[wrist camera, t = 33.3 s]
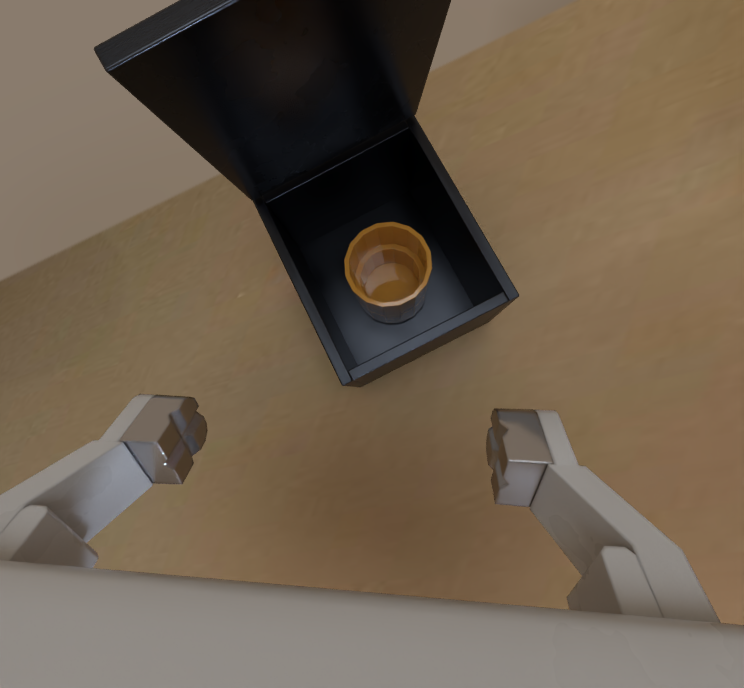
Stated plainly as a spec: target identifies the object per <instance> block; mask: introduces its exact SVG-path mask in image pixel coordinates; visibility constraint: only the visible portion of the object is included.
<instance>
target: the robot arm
mask: <svg viewBox="0 0 744 688" xmlns="http://www.w3.org/2000/svg"><path fill="white" fill-rule="evenodd" d="M198 407H199V405H198V403H197V402H196V400H195V398H193V397H184V396H169V395H150V394H139V395H137V396H135V397H134V398H133V399H132V400H131V401H130V402H129V404H128V405H127V406H126V407H125V409H124V410H123V411H122V412H121V414H120V415H119V416H118V417H117V419H116V420H115V421H114V422H113V423H112V425H111V426H110V427H109V428H108V430H107V431H106V432H105V433H104V435H103V436H102V437H101V438H100V440H93V441H91V442H90V443H88V444H86V445H85V446H83V447H81V448H79V449H78V450H76V451H74V452H73V453H71V454H69V455H68V456H66V457H64V458H62V459H61V460H59V461H57V462H56V463H54V464H52V465H51V466H49V467H47V468H45V469H44V470H42V471H40V472H39V473H37V474H35V475H34V476H32V477H30V478H28V479H27V480H25V481H23V482H22V483H20V484H18V485H17V486H15V487H13V488H11V489H10V490H8V491H6V492H5V493H3V494H1V495H0V688H744V625H738V624H726V623H721V622H720V620H719V619H718V617H717V615H716V613H715V611H714V609H713V607H712V605H711V603H710V601H709V600H708V598H707V596H706V594H705V592H704V590H703V588H702V586H701V584H700V583H699V581H698V579H697V577H696V575H695V573H694V571H693V569H692V567H691V565H690V564H689V562H688V560H687V558H686V556H685V554H684V552H683V550H682V549H681V548H680V547H678V546H677V545H676V544H675V543H674V542H673V541H671V540H670V539H669V538H668V537H667V536H666V535H665V534H663V533H662V532H661V531H660V530H659V529H658V528H656V527H655V526H654V525H653V524H652V523H651V522H650V521H648V520H647V519H646V518H645V517H644V516H643V515H641V514H640V513H639V512H638V511H637V510H636V509H634V508H633V507H632V506H631V505H630V504H629V503H628V502H626V501H625V500H624V499H623V498H622V497H621V496H619V495H618V494H617V493H616V492H615V491H614V490H613V489H611V488H610V487H609V486H608V485H607V484H606V483H604V482H603V481H602V480H601V479H600V478H599V477H598V476H596V475H595V474H594V473H593V472H592V471H591V470H589V469H588V468H587V467H586V466H579V464H578V462H577V459H576V457H575V454H574V452H573V449H572V447H571V444H570V442H569V439H568V437H567V434H566V432H565V429H564V427H563V424H562V422H561V419H560V416H559V414H558V413H557V412H556V411H555V410H532V409H497V408H494V410H493V411H492V415H491V422H492V427H491V428H489V429H488V433H487V439H486V453H487V461H488V465H489V466H490V467H491V468H492V469H493V473H492V477H491V484H492V489H493V495H494V500H495V504H500V505H512V506H523V507H530V510H531V511H532V512H533V514H534V515H535V516H536V518H537V519H538V520H539V521H540V523H541V524H542V525H543V526H544V528H545V529H546V530H547V532H548V533H549V534H550V535H551V537H552V538H553V539H554V541H555V542H556V543H557V544H558V546H559V547H560V548H561V549H562V551H563V552H564V553H565V555H566V556H567V557H568V558H569V560H570V561H571V562H572V564H573V565H574V566H575V567H576V569H577V570H578V571H579V572H580V574H581V575H582V577H581V579H580V580H579V581H578V583H577V584H576V585H575V587H574V588H573V590H572V591H571V592H570V594H569V595H568V596H567V600H568V604H569V608H570V610H567V609H555V608H544V607H532V606H521V605H510V604H498V603H487V602H475V601H464V600H452V599H441V598H430V597H418V596H407V595H395V594H384V593H373V592H361V591H350V590H338V589H327V588H315V587H304V586H293V585H281V584H270V583H258V582H247V581H235V580H224V579H213V578H201V577H190V576H178V575H167V574H155V573H144V572H132V571H121V570H109V569H98V568H93V566H94V565H95V563H96V561H97V560H98V554H97V552H96V551H95V550H94V549H92V548H91V547H90V546H89V545H88V544H87V542H88V541H89V540H90V539H91V538H93V537H94V536H95V535H96V534H97V533H98V532H100V531H101V530H102V529H103V528H104V527H105V526H106V525H108V524H109V523H110V522H111V521H112V520H113V519H114V518H116V517H117V516H118V515H119V514H120V513H121V512H123V511H124V510H125V509H126V508H127V507H128V506H129V505H131V504H132V503H133V502H134V501H135V500H136V499H137V498H139V497H140V496H141V495H142V494H143V493H144V492H146V491H147V490H148V489H149V488H150V487H151V486H152V485H153V484H152V483H157V484H183V482H184V480H185V479H186V477H187V475H188V473H189V471H190V469H191V467H192V466H193V464H194V462H193V458H192V456H193V455H194V454H196V453H197V452H198V451H200V450H201V449H202V447H203V445H204V443H205V441H206V435H207V423H206V420H205V418H204V417H203V416H202V415H201V414H199V413H198V412H197V411H196V410H197V409H198Z"/></svg>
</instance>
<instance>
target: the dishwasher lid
mask: <svg viewBox="0 0 744 688" xmlns="http://www.w3.org/2000/svg"><path fill="white" fill-rule="evenodd" d="M450 2H451V0H179V1H178V2H176V3H174V4H172V5H170V6H168V7H167V8H165V9H163V10H161V11H159V12H157V13H156V14H154V15H152V16H150V17H148V18H146V19H145V20H143V21H141V22H139V23H137V24H135V25H134V26H132V27H130V28H128V29H126V30H125V31H123V32H121V33H119V34H117V35H115V36H114V37H112V38H110V39H108V40H107V41H105V42H103V43H101V44H99V45H98V46H96V47H94V51H95V53H96V55H97V56H98V58H99V60H100V62H101V64H102V65H103V67H104V69H105V71H106V72H107V73H109V74H110V75H111V76H112V77H113V78H114V79H115V80H117V81H118V82H119V83H120V84H121V85H122V86H123V87H125V88H126V89H127V90H128V91H129V92H130V93H131V94H132V95H133V96H135V97H136V98H137V99H138V100H139V101H140V102H141V103H142V104H144V105H145V106H146V107H147V108H148V109H149V110H150V111H151V112H153V113H154V114H155V115H156V116H157V117H158V118H159V119H161V120H162V121H163V122H164V123H165V124H166V125H167V126H168V127H170V128H171V129H172V130H173V131H174V132H175V133H176V134H177V135H179V136H180V137H181V138H182V139H183V140H184V141H185V142H186V143H188V144H189V145H190V146H191V147H192V148H193V149H194V150H195V151H197V152H198V153H199V154H200V155H201V156H202V157H203V158H204V159H206V160H207V161H208V162H209V163H210V164H211V165H212V166H214V167H215V168H216V169H217V170H218V171H219V172H220V173H221V174H223V175H224V176H225V177H226V178H227V179H228V180H229V181H230V182H232V183H233V184H234V185H235V186H236V187H237V188H238V189H239V190H241V191H242V192H243V193H244V194H245V195H246V196H247V197H248V198H250V199H251V200H255V199H257V198H258V197H260V196H262V195H264V194H266V193H268V192H270V191H272V190H274V189H275V188H277V187H279V186H281V185H283V184H285V183H287V182H289V181H291V180H292V179H294V178H296V177H298V176H300V175H302V174H304V173H306V172H308V171H310V170H311V169H313V168H315V167H317V166H319V165H321V164H323V163H325V162H327V161H328V160H330V159H332V158H334V157H336V156H338V155H340V154H342V153H344V152H345V151H347V150H349V149H351V148H353V147H355V146H357V145H359V144H361V143H362V142H364V141H366V140H368V139H370V138H372V137H374V136H376V135H378V134H380V133H381V132H383V131H385V130H387V129H389V128H391V127H393V126H395V125H397V124H398V123H400V122H402V121H404V120H406V119H408V118H410V117H412V116H414V115H415V114H416V112H417V109H418V106H419V102H420V99H421V96H422V93H423V89H424V86H425V83H426V80H427V77H428V73H429V70H430V67H431V64H432V60H433V57H434V54H435V51H436V47H437V44H438V41H439V38H440V34H441V31H442V28H443V25H444V22H445V18H446V15H447V12H448V9H449V6H450Z"/></svg>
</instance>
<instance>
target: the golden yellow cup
mask: <svg viewBox="0 0 744 688" xmlns="http://www.w3.org/2000/svg"><path fill="white" fill-rule="evenodd" d="M344 264H345V276H346V279H347V281H348V283H349V285H350V287H351V289H352V291H353V292H354V294H355V296H356V298H357V300H358V301H359V303H360V305H361V307H362V309H363V310H364V311H365V312H366V313H367V314H368V315H369V316H371V317H372V318H373V319H375V320H378V321H381V322H384V323H399V322H403V321H405V320H407V319H409V318H411V317H413V316H414V315H415V314H416V313H417V312H418V311H419V310H420V308H421V307H422V306H423V304H424V301H425V298H426V295H427V291H428V286H429V281H430V276H431V271H432V261H431V251H430V249H429V247H428V245H427V244H426V242H425V240H424V238H423V237H422V236H421V235H420V234H419V233H417V232H416V231H415V230H414V229H412V228H411V227H410V226H407V225H403V224H400V223H396V222H385V223H376V224H374V225H372V226H370V227H368V228H366V229H364V230H362V231H361V232H360V233H359V234H358V235H357V236H356V237H355V239H354V240H353V241H352V242H351V243H350V245H349V248H348V250H347V253H346V256H345V259H344Z"/></svg>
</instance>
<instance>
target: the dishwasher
mask: <svg viewBox="0 0 744 688" xmlns="http://www.w3.org/2000/svg"><path fill="white" fill-rule="evenodd" d="M253 202H254V204H255V206H256V208H257V210H258V213H259V215H260V217H261V219H262V221H263V223H264V225H265V227H266V229H267V231H268V233H269V235H270V237H271V239H272V242H273V244H274V246H275V248H276V250H277V252H278V254H279V256H280V258H281V260H282V262H283V264H284V266H285V268H286V270H287V273H288V275H289V277H290V279H291V281H292V283H293V285H294V287H295V289H296V291H297V293H298V295H299V297H300V299H301V301H302V304H303V306H304V308H305V310H306V312H307V314H308V316H309V318H310V320H311V322H312V324H313V326H314V328H315V330H316V333H317V335H318V337H319V339H320V341H321V343H322V345H323V347H324V349H325V351H326V353H327V355H328V357H329V359H330V361H331V364H332V366H333V368H334V370H335V372H336V374H337V376H338V378H339V380H340V382H341V384H342V386H353V387H362V386H364V385H366V384H368V383H370V382H372V381H374V380H376V379H377V378H379V377H381V376H383V375H385V374H387V373H389V372H391V371H393V370H395V369H397V368H399V367H401V366H403V365H405V364H407V363H409V362H411V361H413V360H415V359H417V358H419V357H421V356H423V355H425V354H427V353H429V352H431V351H433V350H435V349H436V348H438V347H440V346H442V345H444V344H446V343H448V342H450V341H452V340H454V339H456V338H458V337H460V336H462V335H464V334H466V333H468V332H470V331H472V330H474V329H476V328H478V327H480V326H482V325H484V324H486V323H488V322H489V321H491V320H492V319H493V318H494V317H495V316H496V315H498V314H499V313H500V312H501V311H502V310H503V309H505V308H506V307H507V306H508V305H509V304H510V303H512V302H513V301H514V300H515V299H516V298H518V297H519V294H518V292H517V290H516V289H515V287H514V285H513V283H512V282H511V280H510V278H509V277H508V275H507V273H506V271H505V270H504V268H503V266H502V265H501V263H500V261H499V259H498V258H497V256H496V254H495V253H494V251H493V249H492V248H491V246H490V244H489V242H488V241H487V239H486V237H485V236H484V234H483V232H482V230H481V229H480V227H479V225H478V224H477V222H476V220H475V218H474V217H473V215H472V213H471V212H470V210H469V208H468V206H467V205H466V203H465V201H464V200H463V198H462V196H461V195H460V193H459V191H458V189H457V188H456V186H455V184H454V183H453V181H452V179H451V177H450V176H449V174H448V172H447V171H446V169H445V167H444V165H443V164H442V162H441V160H440V159H439V157H438V155H437V153H436V152H435V150H434V148H433V147H432V145H431V143H430V142H429V140H428V138H427V136H426V135H425V133H424V131H423V130H422V128H421V126H420V124H419V123H418V121H417V119H416V118H415V116H412V117H410V118H408V119H406V120H404V121H402V122H400V123H398V124H397V125H395V126H393V127H391V128H389V129H387V130H385V131H383V132H381V133H380V134H378V135H376V136H374V137H372V138H370V139H368V140H366V141H364V142H362V143H361V144H359V145H357V146H355V147H353V148H351V149H349V150H347V151H345V152H344V153H342V154H340V155H338V156H336V157H334V158H332V159H330V160H328V161H327V162H325V163H323V164H321V165H319V166H317V167H315V168H313V169H311V170H310V171H308V172H306V173H304V174H302V175H300V176H298V177H296V178H294V179H292V180H291V181H289V182H287V183H285V184H283V185H281V186H279V187H277V188H275V189H274V190H272V191H270V192H268V193H266V194H264V195H262V196H260V197H258V198H257V199H255V200H253ZM385 222H396V223H400V224H403V225H407V226H410V227H411V228H412V229H414V230H415V231H416V232H417V233H419V234H420V235H421V236H422V237H423V238H424V240H425V242H426V244H427V245H428V247H429V249H430V251H431V261H432V271H431V276H430V281H429V286H428V291H427V295H426V298H425V301H424V304H423V306H422V307H421V308H420V310H419V311H418V312H417V313H416V314H415V315H414V316H413V317H411V318H409V319H407V320H405V321H403V322H399V323H384V322H381V321H378V320H375V319H373V318H372V317H371V316H369V315H368V314H367V313H366V312H365V311H364V310H363V309H362V307H361V305H360V303H359V301H358V300H357V298H356V296H355V294H354V292H353V291H352V289H351V287H350V285H349V283H348V281H347V279H346V276H345V264H344V259H345V256H346V253H347V250H348V248H349V245H350V243H351V242H352V241H353V240H354V239H355V237H356V236H357V235H358V234H359V233H360V232H361V231H362V230H364V229H366V228H368V227H370V226H372V225H374V224H376V223H385Z"/></svg>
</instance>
